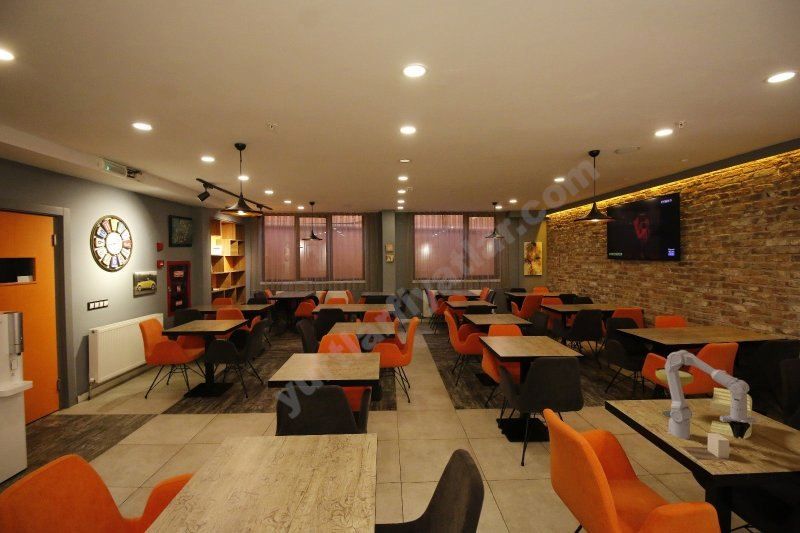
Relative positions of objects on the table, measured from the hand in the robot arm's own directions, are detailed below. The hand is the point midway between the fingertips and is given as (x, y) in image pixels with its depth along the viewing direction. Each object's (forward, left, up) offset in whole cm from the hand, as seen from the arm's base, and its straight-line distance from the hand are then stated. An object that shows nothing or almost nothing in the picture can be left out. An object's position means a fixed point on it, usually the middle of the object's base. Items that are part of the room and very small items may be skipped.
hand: (738, 437), depth 178 cm
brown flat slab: (0, -13, -9) cm, 16 cm away
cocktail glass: (-49, 0, -10) cm, 50 cm away
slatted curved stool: (-29, +17, -10) cm, 35 cm away
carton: (0, -9, -8) cm, 12 cm away
